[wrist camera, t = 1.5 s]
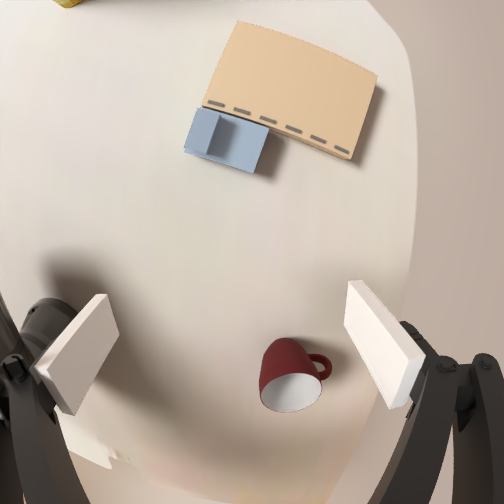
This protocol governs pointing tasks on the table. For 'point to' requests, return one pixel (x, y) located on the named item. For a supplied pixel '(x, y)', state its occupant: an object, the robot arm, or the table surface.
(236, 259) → the table surface
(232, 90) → the board
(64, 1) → the book
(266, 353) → the mug
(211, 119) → the stub
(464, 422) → the robot arm
